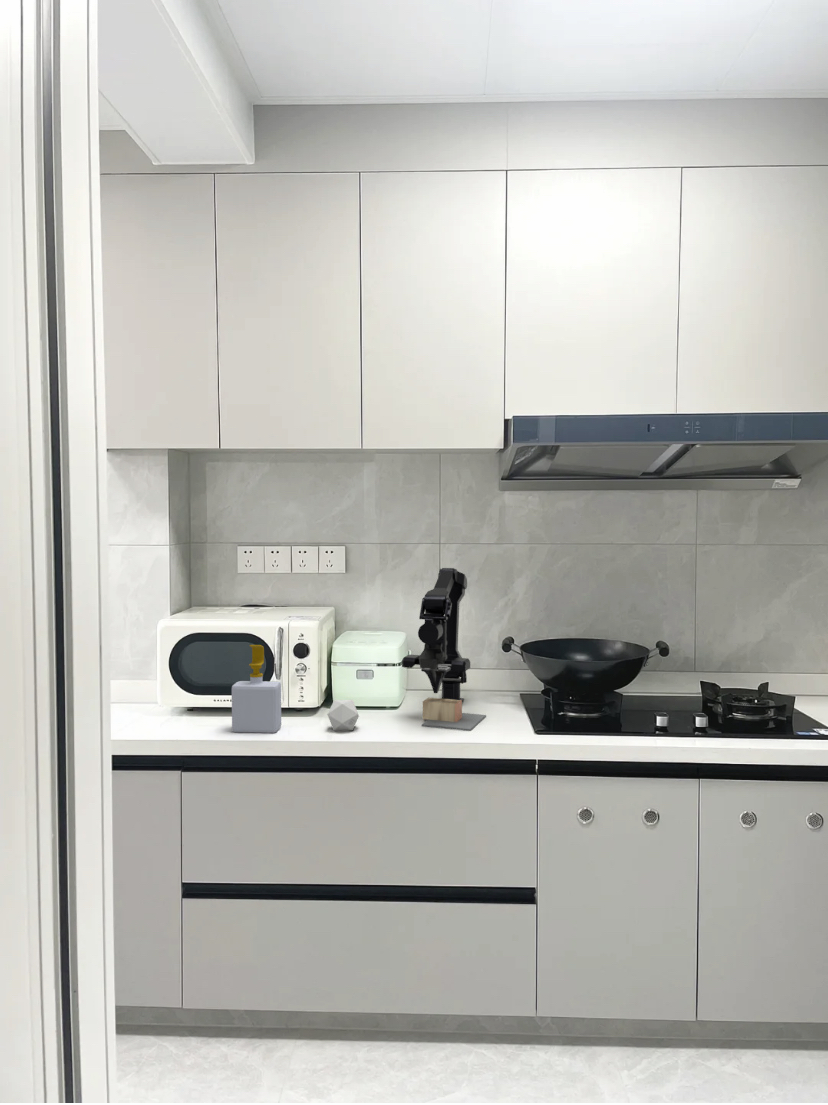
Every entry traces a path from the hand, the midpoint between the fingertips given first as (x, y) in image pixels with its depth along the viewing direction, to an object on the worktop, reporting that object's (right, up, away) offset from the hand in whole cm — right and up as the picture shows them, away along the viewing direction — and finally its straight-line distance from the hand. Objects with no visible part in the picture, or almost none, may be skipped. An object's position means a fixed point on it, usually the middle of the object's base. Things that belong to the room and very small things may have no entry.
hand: (435, 693), depth 234 cm
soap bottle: (-49, -8, -10) cm, 50 cm away
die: (-25, -8, -9) cm, 28 cm away
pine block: (-3, -5, +1) cm, 6 cm away
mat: (+5, -8, -1) cm, 9 cm away
